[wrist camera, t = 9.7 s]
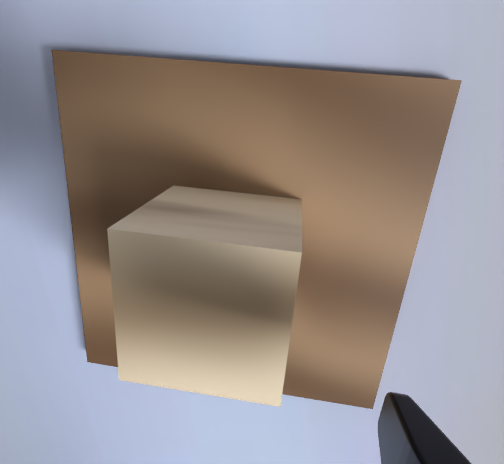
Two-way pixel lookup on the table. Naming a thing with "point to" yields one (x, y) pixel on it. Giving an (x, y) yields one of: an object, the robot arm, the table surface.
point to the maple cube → (207, 291)
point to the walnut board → (263, 186)
